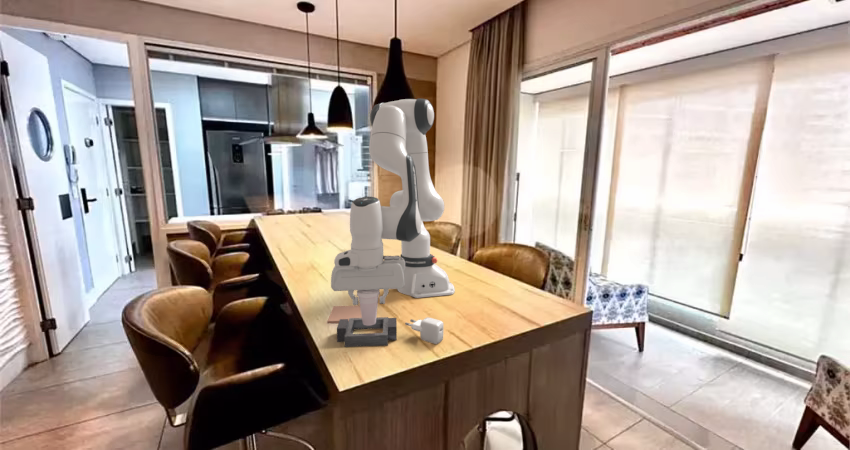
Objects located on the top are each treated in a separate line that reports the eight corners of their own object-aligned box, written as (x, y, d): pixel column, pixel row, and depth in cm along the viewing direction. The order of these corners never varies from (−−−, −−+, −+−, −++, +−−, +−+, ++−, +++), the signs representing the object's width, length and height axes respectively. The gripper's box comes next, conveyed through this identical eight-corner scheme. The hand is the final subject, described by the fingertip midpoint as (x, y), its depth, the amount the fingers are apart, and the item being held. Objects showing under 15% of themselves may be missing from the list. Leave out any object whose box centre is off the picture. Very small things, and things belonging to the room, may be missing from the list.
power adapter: (403, 335, 103) (403, 316, 102) (412, 329, 107) (412, 311, 106) (436, 346, 97) (436, 326, 96) (445, 339, 101) (445, 320, 100)
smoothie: (358, 318, 105) (357, 272, 103) (380, 317, 106) (379, 271, 104) (357, 328, 99) (355, 279, 97) (380, 327, 100) (379, 278, 97)
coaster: (369, 307, 123) (369, 305, 123) (366, 322, 112) (366, 320, 111) (333, 308, 122) (333, 306, 122) (327, 323, 111) (327, 321, 110)
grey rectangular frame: (396, 326, 109) (396, 313, 109) (396, 345, 98) (396, 331, 97) (341, 327, 108) (341, 315, 107) (335, 347, 96) (335, 333, 96)
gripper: (404, 252, 103) (405, 297, 106) (332, 254, 101) (334, 300, 104) (405, 258, 97) (406, 306, 99) (328, 260, 95) (331, 309, 98)
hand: (369, 303), depth 102 cm, fingers closed on smoothie, 6 cm apart
